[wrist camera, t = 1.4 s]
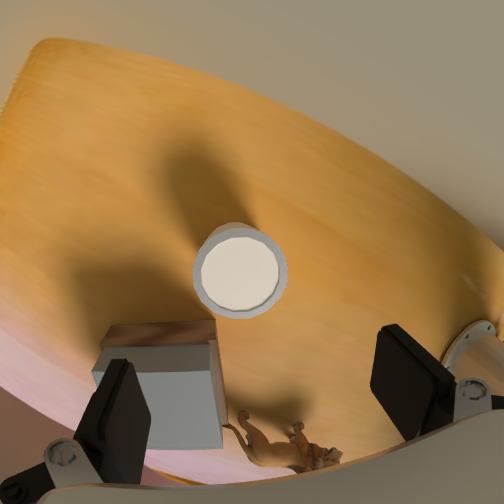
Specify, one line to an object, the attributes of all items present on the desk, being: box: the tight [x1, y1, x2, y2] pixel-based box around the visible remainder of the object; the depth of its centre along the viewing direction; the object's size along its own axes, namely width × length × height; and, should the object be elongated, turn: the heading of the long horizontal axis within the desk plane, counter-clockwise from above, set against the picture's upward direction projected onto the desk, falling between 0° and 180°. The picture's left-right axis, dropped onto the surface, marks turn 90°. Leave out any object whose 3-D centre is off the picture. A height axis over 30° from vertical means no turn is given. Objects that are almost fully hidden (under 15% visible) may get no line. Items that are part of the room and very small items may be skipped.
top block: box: [91, 344, 223, 450], centre depth 24 cm, size 10×10×4 cm
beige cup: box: [192, 222, 288, 319], centre depth 25 cm, size 7×7×7 cm
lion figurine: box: [222, 412, 343, 474], centre depth 30 cm, size 15×5×9 cm, turn 73°
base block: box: [100, 319, 228, 425], centre depth 29 cm, size 11×11×4 cm
